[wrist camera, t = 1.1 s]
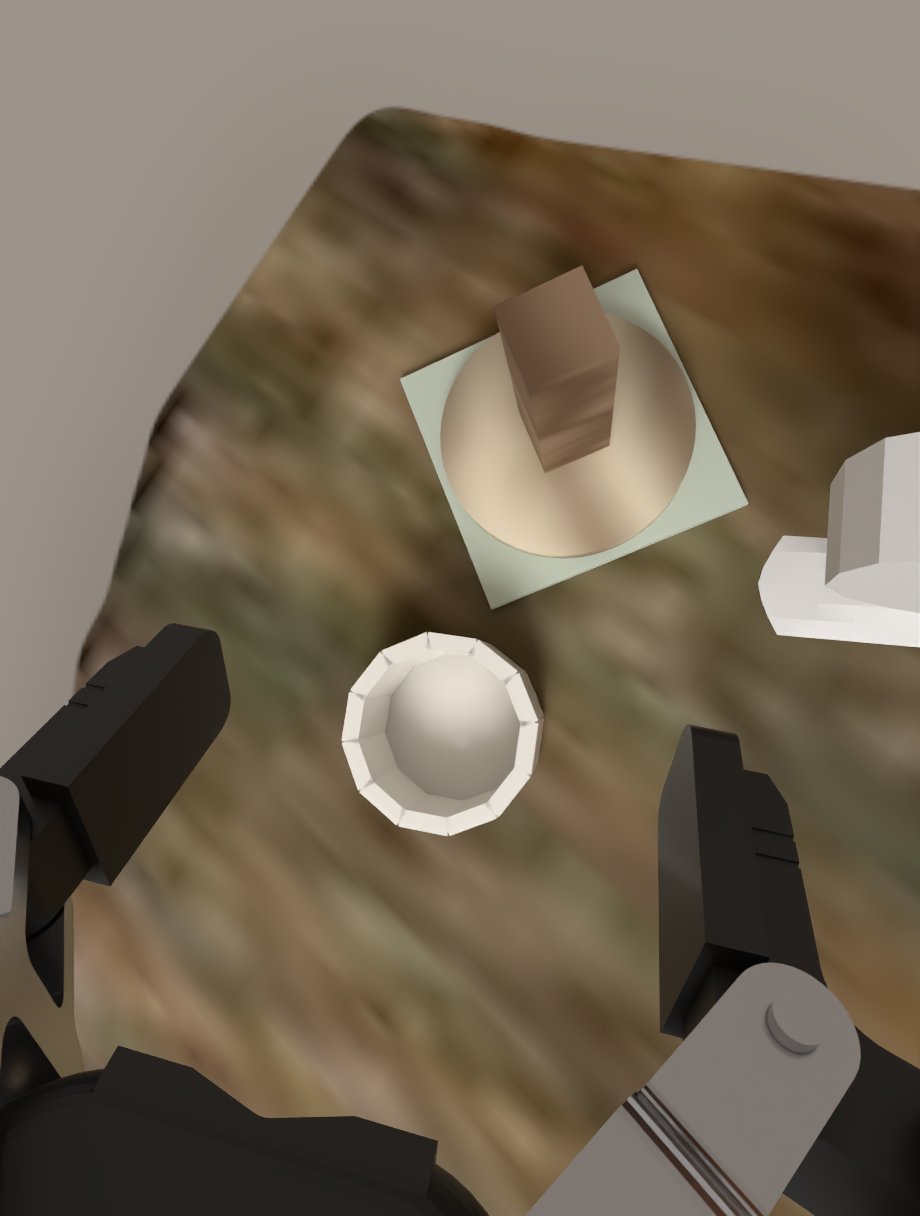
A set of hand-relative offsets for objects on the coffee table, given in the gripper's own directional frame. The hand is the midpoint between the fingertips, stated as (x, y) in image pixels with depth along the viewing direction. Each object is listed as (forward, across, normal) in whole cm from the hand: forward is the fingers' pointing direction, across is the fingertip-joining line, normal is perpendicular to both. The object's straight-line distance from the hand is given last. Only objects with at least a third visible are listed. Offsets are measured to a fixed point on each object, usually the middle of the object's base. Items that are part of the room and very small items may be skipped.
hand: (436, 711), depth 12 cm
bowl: (+17, +3, +18) cm, 25 cm away
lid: (+27, 0, +5) cm, 28 cm away
